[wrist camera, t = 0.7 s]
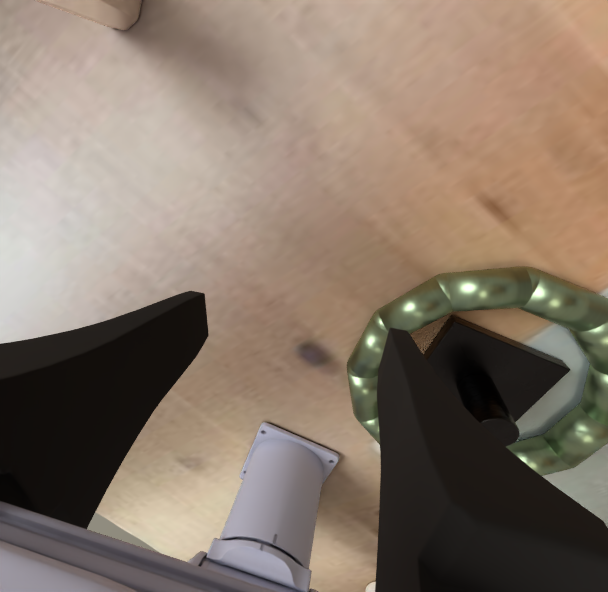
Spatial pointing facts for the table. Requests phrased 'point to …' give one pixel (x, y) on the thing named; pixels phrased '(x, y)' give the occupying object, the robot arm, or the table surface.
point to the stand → (492, 374)
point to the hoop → (499, 295)
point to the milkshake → (101, 11)
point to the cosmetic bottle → (371, 587)
